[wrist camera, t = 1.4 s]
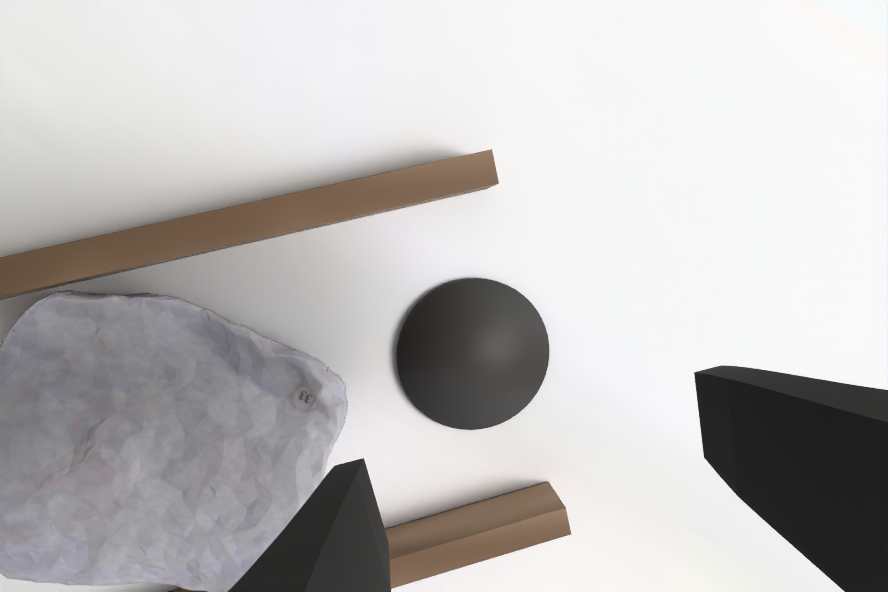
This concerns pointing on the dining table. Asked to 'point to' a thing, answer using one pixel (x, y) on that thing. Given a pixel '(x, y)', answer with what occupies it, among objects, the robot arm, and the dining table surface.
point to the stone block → (153, 442)
